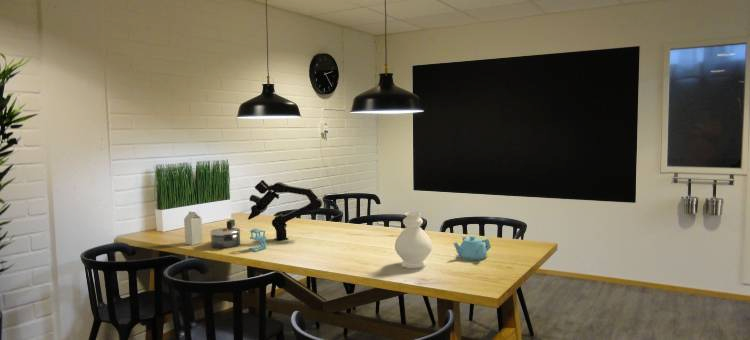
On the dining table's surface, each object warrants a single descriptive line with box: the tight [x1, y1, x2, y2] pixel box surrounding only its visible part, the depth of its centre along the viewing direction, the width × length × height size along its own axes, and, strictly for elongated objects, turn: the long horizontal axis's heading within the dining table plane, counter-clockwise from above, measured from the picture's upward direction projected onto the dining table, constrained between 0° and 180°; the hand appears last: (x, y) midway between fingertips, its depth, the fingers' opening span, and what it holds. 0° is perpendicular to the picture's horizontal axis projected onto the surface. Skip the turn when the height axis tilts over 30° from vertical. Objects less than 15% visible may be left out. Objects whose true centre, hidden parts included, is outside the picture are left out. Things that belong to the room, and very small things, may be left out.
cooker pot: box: [210, 232, 241, 250], centre depth 308 cm, size 26×16×7 cm, turn 24°
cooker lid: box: [209, 219, 241, 236], centre depth 309 cm, size 23×17×5 cm
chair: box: [248, 228, 267, 253], centre depth 293 cm, size 8×8×12 cm
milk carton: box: [183, 211, 204, 246], centre depth 313 cm, size 7×7×19 cm
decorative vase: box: [394, 211, 433, 269], centre depth 253 cm, size 18×18×25 cm
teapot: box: [453, 235, 491, 261], centre depth 264 cm, size 15×15×11 cm
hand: (249, 218), depth 317 cm, fingers open, 7 cm apart
